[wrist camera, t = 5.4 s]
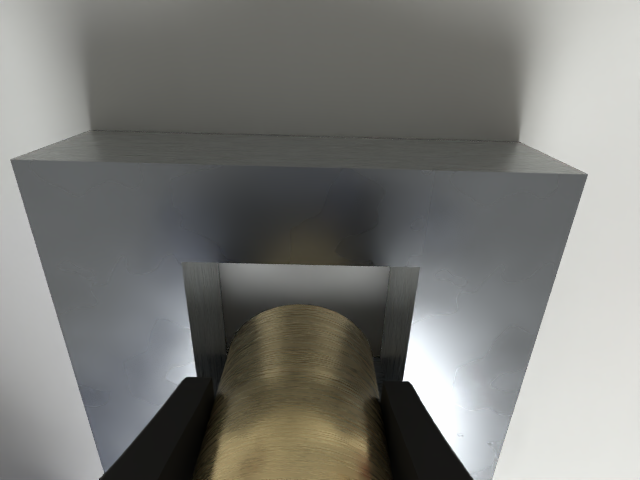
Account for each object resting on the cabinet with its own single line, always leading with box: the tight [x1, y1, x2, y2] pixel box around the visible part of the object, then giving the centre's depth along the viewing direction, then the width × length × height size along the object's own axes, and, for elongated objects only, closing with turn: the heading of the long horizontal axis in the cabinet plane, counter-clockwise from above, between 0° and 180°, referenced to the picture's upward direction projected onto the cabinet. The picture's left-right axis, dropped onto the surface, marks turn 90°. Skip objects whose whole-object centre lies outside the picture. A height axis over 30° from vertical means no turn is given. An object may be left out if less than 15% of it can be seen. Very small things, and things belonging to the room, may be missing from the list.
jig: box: [11, 131, 588, 480], centre depth 13 cm, size 13×11×4 cm
